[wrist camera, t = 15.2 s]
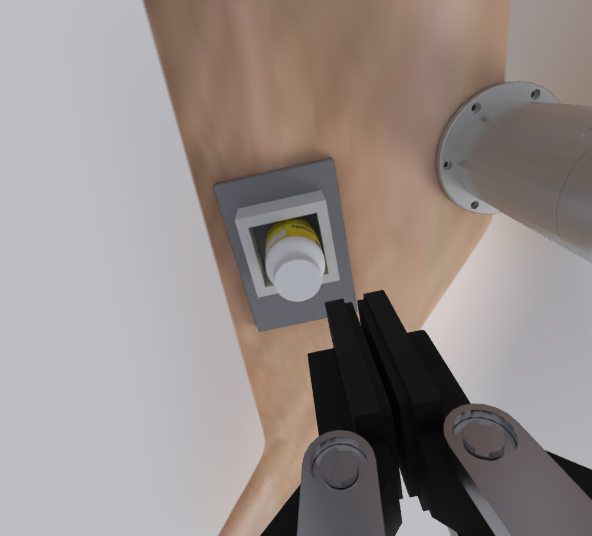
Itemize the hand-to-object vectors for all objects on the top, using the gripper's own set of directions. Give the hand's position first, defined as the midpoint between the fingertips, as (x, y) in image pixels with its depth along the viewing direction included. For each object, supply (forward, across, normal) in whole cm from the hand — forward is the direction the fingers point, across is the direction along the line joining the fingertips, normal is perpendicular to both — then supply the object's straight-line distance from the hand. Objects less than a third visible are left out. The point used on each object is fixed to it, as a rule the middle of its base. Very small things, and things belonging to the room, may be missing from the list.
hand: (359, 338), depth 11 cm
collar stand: (+29, +2, +10) cm, 31 cm away
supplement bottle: (+28, +2, +8) cm, 29 cm away
